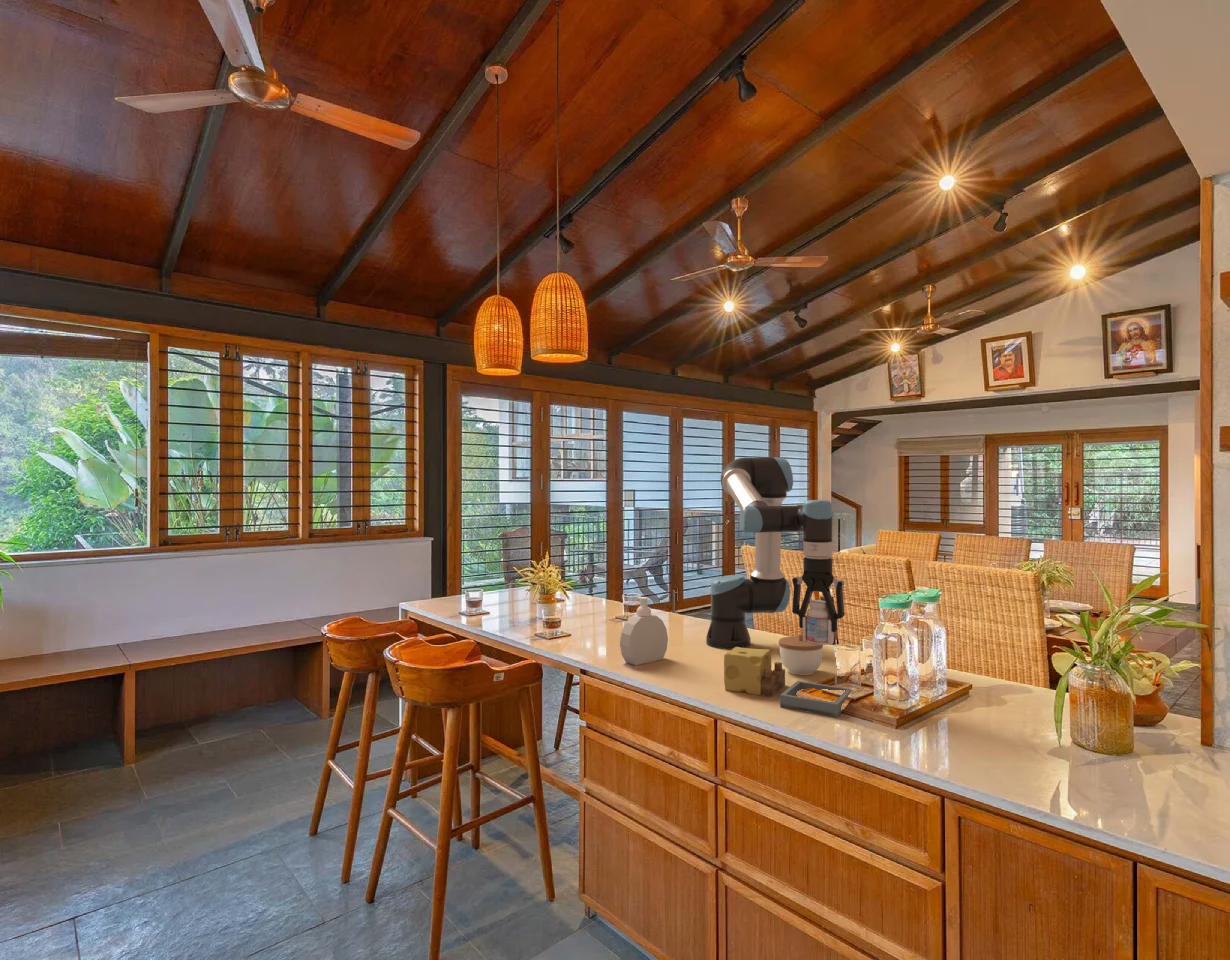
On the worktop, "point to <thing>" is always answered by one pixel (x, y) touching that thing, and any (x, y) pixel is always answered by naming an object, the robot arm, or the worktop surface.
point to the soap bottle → (643, 637)
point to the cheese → (745, 669)
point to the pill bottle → (817, 623)
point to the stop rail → (772, 680)
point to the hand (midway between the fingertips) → (818, 641)
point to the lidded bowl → (800, 655)
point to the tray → (812, 705)
